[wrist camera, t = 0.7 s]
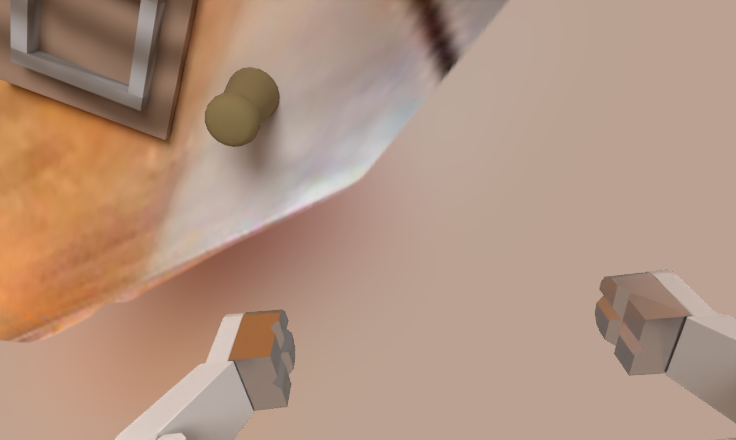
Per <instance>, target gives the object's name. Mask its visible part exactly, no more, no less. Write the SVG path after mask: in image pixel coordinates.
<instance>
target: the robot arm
mask: <svg viewBox="0 0 736 440" xmlns="http://www.w3.org/2000/svg"><path fill="white" fill-rule="evenodd" d="M600 291H601V292H602V293H603V295H604V296H603V297H602V298H601V299H600V300H599V301H598V302H597V304H596V309H595V316H596V323H597V326H598V328H599V331H600V333H601V334H602V336H603V337H604V339H605V340H607V341H608V342H610V343H612V344H614V345H615V346H616V348H615V353H614V354H615V355H616V357H617V358H618V360H619V361H620V363H621V364H622V366H623V367H624V369H625V370H626V372H627V373H628V375H629V376H630V375H645V374H660V373H666V375H667V376H668V377H670V378H671V379H672V380H674V381H675V382H677V383H678V384H680V385H681V386H683V387H684V388H685V389H687V390H688V391H690V392H691V393H693V394H694V395H696V396H697V397H699V398H700V399H701V400H703V401H704V402H706V403H707V404H709V405H710V406H712V407H713V408H714V409H716V410H717V411H719V412H721V413H722V414H723V415H725V416H726V417H728V418H729V419H730V420H732V421H733V422H735V423H736V318H733V317H731V316H729V315H726V314H717V313H716V312H715V311H713V309H711V308H710V307H709V306H708V305H707V304H706V303H705V302H704V301H703V300H702V299H701V298H700V297H699V296H698V295H697V294H696V293H695V292H694V291H693V290H692V289H691V288H689V287H688V286H687V285H686V284H685V283H684V282H683V281H682V280H681V279H680V278H679V277H678V276H677V275H676V274H675V273H674V272H672V271H670V270H659V271H650V272H645V273H635V274H626V275H617V276H608V277H604V279H603V280H602V281H601V285H600ZM287 324H288V318H287V315H286V313H285V311H284V310H272V311H259V312H246V313H238V314H227V315H226V316H225V317H224V318H223V320H222V322H221V325H220V327H219V330H218V332H217V335H216V338H215V340H214V343H213V345H212V348H211V350H210V353H209V355H208V358H207V361H206V363H205V364H199V365H198V366H197V367H196V368H195V369H194V370H192V371H191V372H190V373H189V374H188V375H187V376H185V377H184V378H183V379H182V380H181V381H180V382H179V383H177V384H176V385H175V386H174V387H173V388H172V389H171V390H169V391H168V392H167V393H166V394H165V395H164V396H163V397H161V398H160V399H159V400H158V401H157V402H156V403H155V404H153V405H152V406H151V407H150V408H149V409H148V410H146V411H145V412H144V413H143V414H142V415H141V416H140V417H138V418H137V419H136V420H135V421H134V422H133V423H132V424H130V425H129V426H128V427H127V428H126V429H125V430H123V431H122V432H121V433H120V434H119V435H118V436H117V437H116V438H115V440H234V439H235V437H236V436H237V435H238V433H239V432H240V431H241V429H242V428H243V426H244V425H245V424H246V423H247V422H248V420H249V419H250V417H251V416H252V415H253V413H254V411H256V410H265V409H273V408H281V407H287V406H288V400H289V394H290V388H291V382H290V378H289V374H290V373H291V371H292V370H293V369H294V363H295V345H294V339H293V336H292V333H291V332H290V331H288V330H287ZM717 440H718V439H717ZM719 440H736V438H729V439H719Z"/></svg>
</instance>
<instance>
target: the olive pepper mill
mask: <svg viewBox="0 0 736 440" xmlns="http://www.w3.org/2000/svg"><path fill="white" fill-rule="evenodd" d="M278 104H279V91H278V87H277V85H276V83H275V82H274V80H273V79H272V78H271V77H270V76H269V75H268V74H267V73H266V72H264V71H262V70H260V69H256V68H251V67H250V68H243V69H241V70H239V71H237V72H235V73H234V74H233V75H232V77H231V78H230V80H229V82H228V84H227V86H226V89H225V91H224V93H222V94H220V95H218V96H216V97H215V98H214V99H213V100H212V101H211V102H210V103H209V104H208V106H207V109H206V111H205V123H206V126H207V129H208V131H209V132H210V134H211V135H212V136H213V137H214V138H215V139H216V140H217V141H218V142H220V143H222V144H224V145H227V146H233V147H236V146H242V145H244V144H247V143H249V142H251V141H252V140H253V139H254V138H255V137H256V135H257V133H258V130H259V128H260V123H261V122H263V121H264V120H265V119H266V118H268V117H269V116H270V115H271V114H272V113H273V112H274V111H275V110H276V108H277V106H278Z"/></svg>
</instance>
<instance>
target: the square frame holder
mask: <svg viewBox="0 0 736 440" xmlns="http://www.w3.org/2000/svg"><path fill="white" fill-rule="evenodd" d="M196 5H197V0H0V79H1V80H4V81H6V82H9V83H12V84H14V85H17V86H20V87H23V88H25V89H28V90H31V91H33V92H36V93H39V94H41V95H44V96H47V97H50V98H52V99H55V100H58V101H60V102H63V103H66V104H69V105H71V106H74V107H77V108H79V109H82V110H85V111H87V112H90V113H93V114H96V115H98V116H101V117H104V118H106V119H109V120H112V121H115V122H117V123H120V124H123V125H125V126H128V127H131V128H134V129H136V130H139V131H142V132H144V133H147V134H150V135H152V136H155V137H158V138H161V139H163V140H166V139H167V138H168V137H169V136H170V134H171V129H172V124H173V119H174V114H175V109H176V104H177V99H178V94H179V89H180V84H181V79H182V74H183V69H184V64H185V59H186V54H187V50H188V45H189V40H190V35H191V30H192V25H193V20H194V15H195V10H196Z"/></svg>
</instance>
